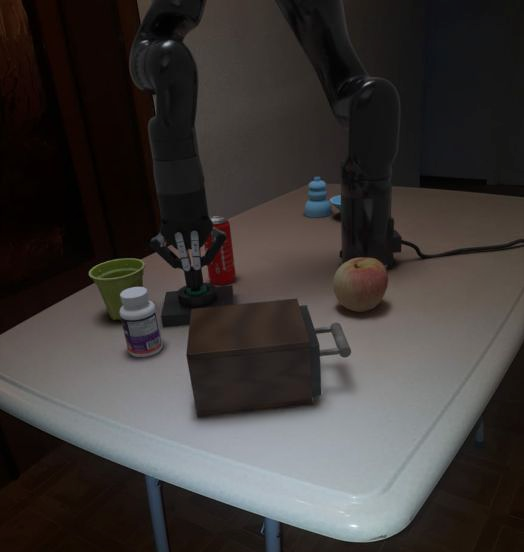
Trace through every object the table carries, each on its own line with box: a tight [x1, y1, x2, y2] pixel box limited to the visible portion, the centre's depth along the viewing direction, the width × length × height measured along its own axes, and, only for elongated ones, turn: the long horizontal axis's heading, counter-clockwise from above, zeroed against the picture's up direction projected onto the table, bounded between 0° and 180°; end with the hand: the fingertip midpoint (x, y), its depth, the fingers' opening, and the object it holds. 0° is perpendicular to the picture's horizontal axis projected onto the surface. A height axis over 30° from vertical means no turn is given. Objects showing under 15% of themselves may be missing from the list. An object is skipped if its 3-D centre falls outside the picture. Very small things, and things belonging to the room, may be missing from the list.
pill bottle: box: [120, 286, 164, 358], centre depth 84 cm, size 5×5×10 cm
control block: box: [160, 282, 235, 328], centre depth 96 cm, size 12×10×4 cm
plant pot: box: [88, 257, 146, 321], centre depth 96 cm, size 9×9×9 cm
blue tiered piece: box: [304, 176, 341, 219], centre depth 137 cm, size 18×10×9 cm, turn 56°
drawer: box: [299, 304, 352, 397], centre depth 73 cm, size 18×11×7 cm, turn 94°
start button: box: [186, 285, 208, 295], centre depth 95 cm, size 4×4×2 cm
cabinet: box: [185, 297, 314, 418], centre depth 73 cm, size 15×13×9 cm
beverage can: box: [203, 215, 236, 286], centre depth 105 cm, size 5×5×12 cm
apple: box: [332, 258, 389, 313], centre depth 91 cm, size 9×9×8 cm
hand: (195, 288), depth 95 cm, fingers closed
